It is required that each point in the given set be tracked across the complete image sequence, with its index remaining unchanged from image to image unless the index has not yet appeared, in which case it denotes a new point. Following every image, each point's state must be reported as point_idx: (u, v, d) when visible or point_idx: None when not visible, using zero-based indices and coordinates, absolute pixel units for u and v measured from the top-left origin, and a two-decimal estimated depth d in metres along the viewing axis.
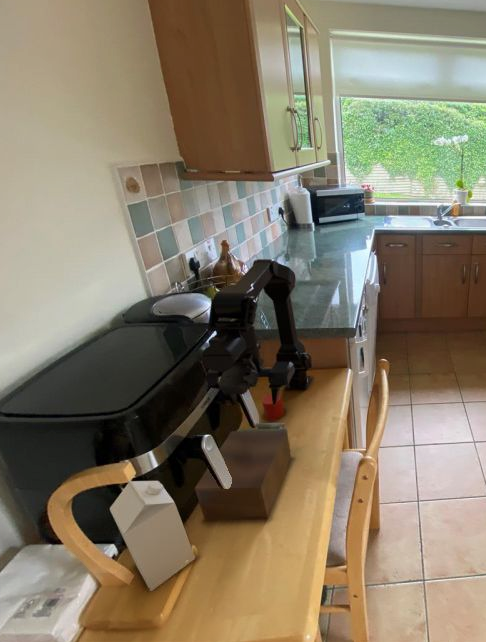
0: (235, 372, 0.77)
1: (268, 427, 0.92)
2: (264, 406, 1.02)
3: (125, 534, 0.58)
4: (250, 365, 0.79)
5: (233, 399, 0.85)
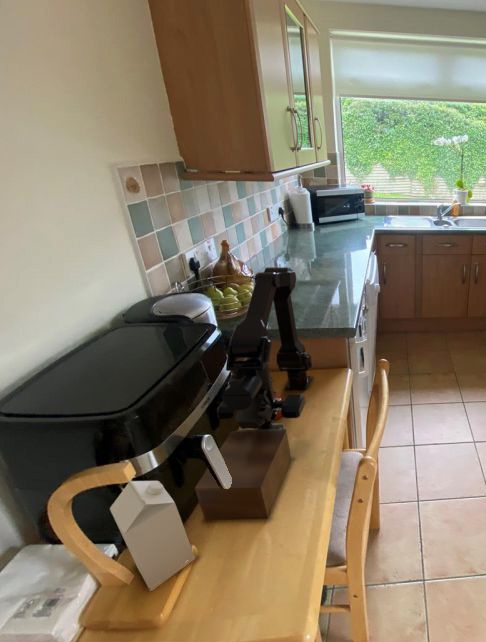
0: (250, 407, 0.82)
1: None
2: None
3: (125, 534, 0.58)
4: (264, 400, 0.84)
5: None
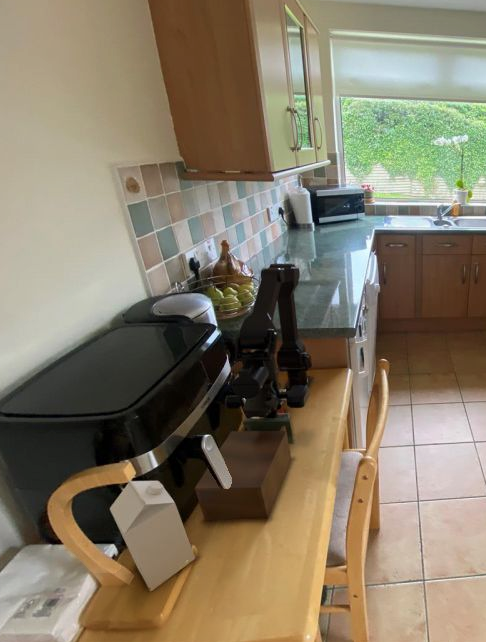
0: (257, 397, 0.86)
1: None
2: None
3: (125, 534, 0.58)
4: (270, 390, 0.88)
5: None
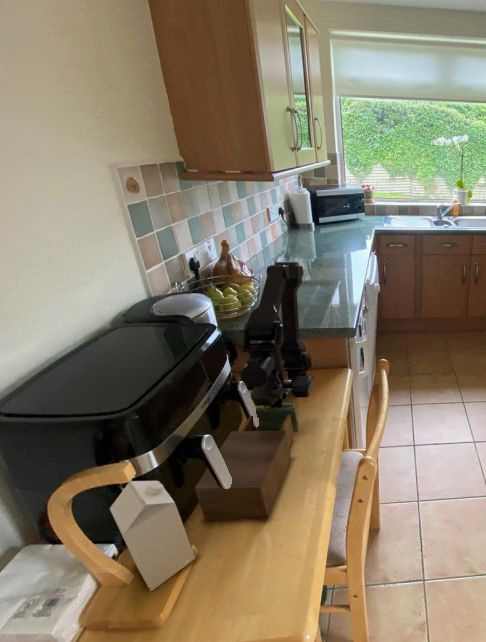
0: (264, 386, 0.89)
1: None
2: (264, 406, 1.02)
3: (125, 534, 0.58)
4: (276, 380, 0.91)
5: None
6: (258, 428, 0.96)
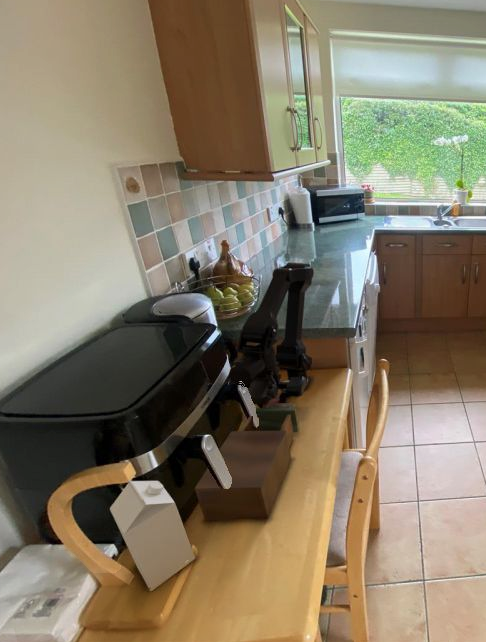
0: (259, 386, 0.95)
1: (279, 407, 1.00)
2: (264, 406, 1.02)
3: (125, 534, 0.58)
4: (271, 380, 0.97)
5: None
6: (258, 428, 0.96)
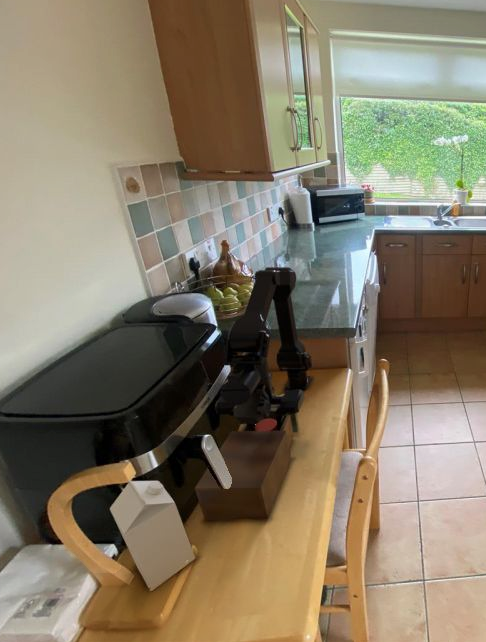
0: (249, 403, 0.81)
1: None
2: None
3: (125, 534, 0.58)
4: (263, 395, 0.83)
5: (252, 425, 0.90)
6: None
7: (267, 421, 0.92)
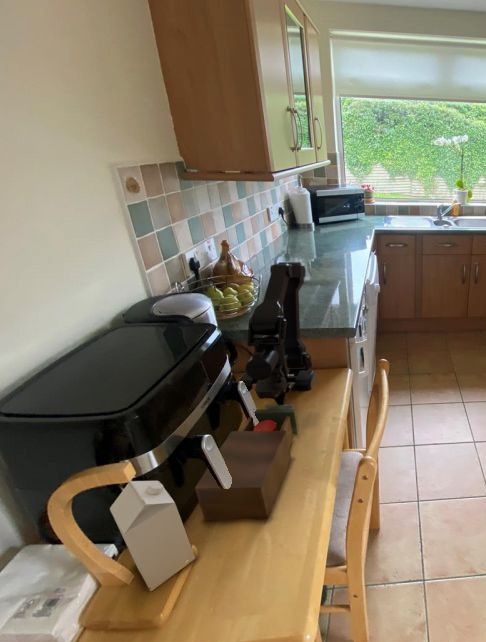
0: (268, 380, 0.91)
1: (278, 408, 0.99)
2: None
3: (125, 534, 0.58)
4: (280, 374, 0.94)
5: None
6: None
7: (266, 423, 0.91)
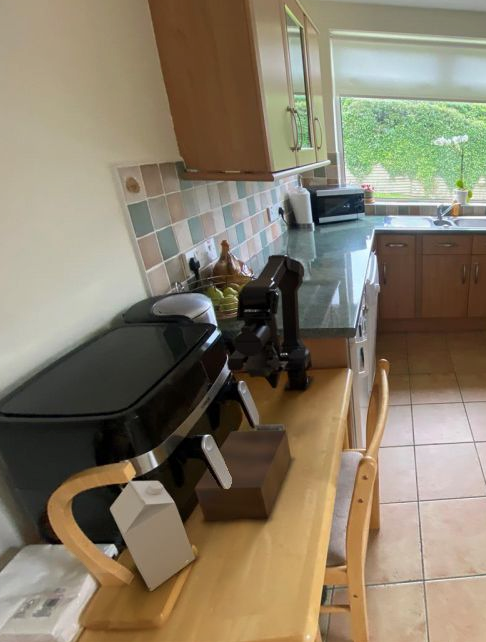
0: (259, 357, 0.86)
1: (267, 428, 0.92)
2: None
3: (125, 534, 0.58)
4: (272, 351, 0.88)
5: None
6: None
7: None
